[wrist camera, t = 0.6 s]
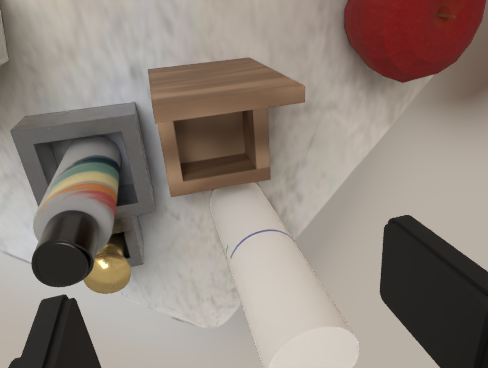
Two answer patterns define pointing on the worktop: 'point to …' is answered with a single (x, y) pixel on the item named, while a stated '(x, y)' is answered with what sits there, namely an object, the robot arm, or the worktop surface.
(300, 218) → the worktop surface
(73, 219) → the lotion bottle
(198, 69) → the rack
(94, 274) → the pin
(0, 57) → the supplement box
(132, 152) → the socket
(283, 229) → the cylindrical container
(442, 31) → the apple
